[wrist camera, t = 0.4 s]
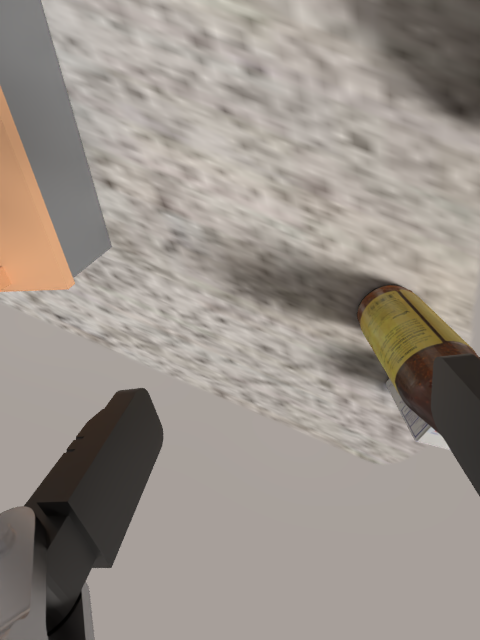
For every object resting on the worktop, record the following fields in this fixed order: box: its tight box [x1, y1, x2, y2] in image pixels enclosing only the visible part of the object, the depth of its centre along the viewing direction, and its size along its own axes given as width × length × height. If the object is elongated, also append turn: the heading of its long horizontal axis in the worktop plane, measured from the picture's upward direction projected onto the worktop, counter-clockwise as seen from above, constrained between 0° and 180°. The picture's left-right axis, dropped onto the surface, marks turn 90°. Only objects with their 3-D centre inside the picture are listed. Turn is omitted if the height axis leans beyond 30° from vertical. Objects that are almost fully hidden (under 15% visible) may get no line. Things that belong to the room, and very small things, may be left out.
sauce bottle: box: [357, 285, 480, 436], centre depth 24 cm, size 6×6×20 cm
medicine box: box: [386, 378, 450, 450], centre depth 34 cm, size 8×4×9 cm, turn 73°
